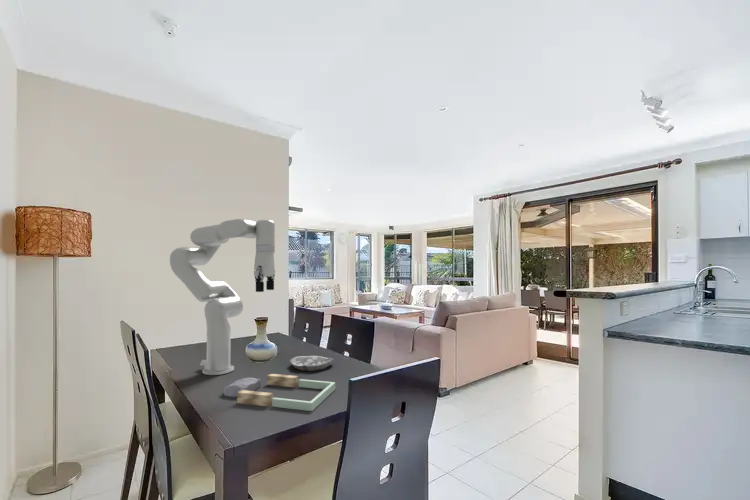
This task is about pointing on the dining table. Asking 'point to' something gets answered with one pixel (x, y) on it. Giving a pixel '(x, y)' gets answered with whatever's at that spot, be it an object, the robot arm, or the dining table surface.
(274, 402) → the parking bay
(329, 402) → the dining table surface
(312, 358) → the brain slice
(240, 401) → the blocks
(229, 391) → the stone block
